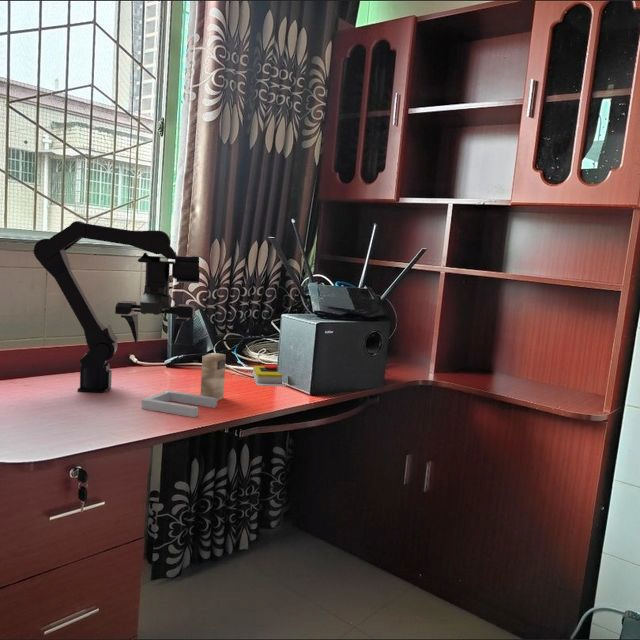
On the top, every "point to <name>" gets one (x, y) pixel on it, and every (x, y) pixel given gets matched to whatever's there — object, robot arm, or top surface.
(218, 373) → the beige rectangular block
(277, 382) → the emergency button
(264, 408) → the top surface
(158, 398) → the shallow open frame
